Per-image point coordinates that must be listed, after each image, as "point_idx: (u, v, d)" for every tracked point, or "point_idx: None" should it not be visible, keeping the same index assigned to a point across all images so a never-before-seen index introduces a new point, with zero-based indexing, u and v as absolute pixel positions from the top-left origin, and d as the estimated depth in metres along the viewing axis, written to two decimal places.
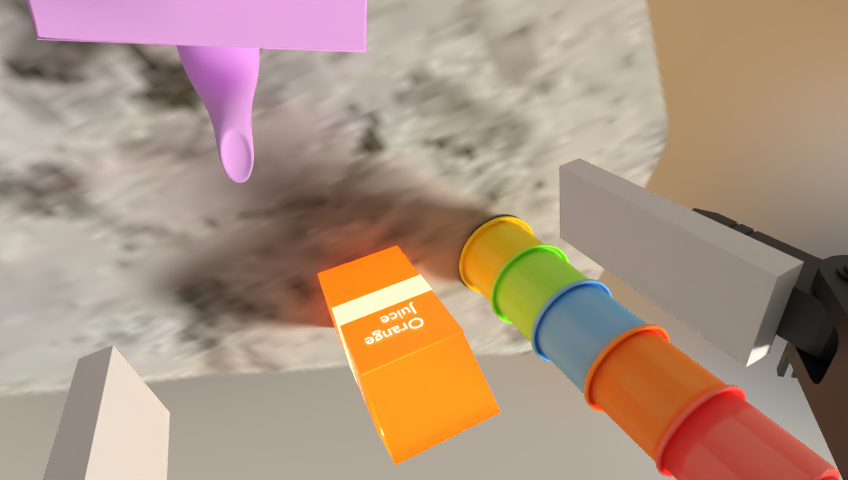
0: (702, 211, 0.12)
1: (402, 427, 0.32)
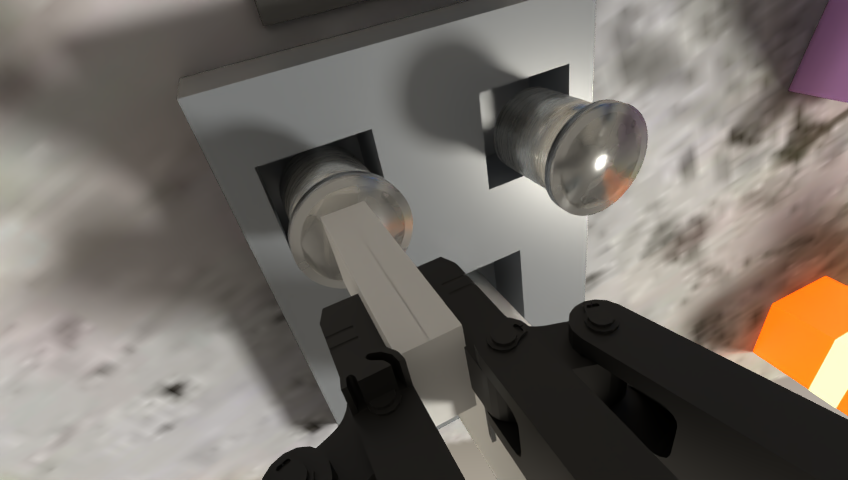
0: (444, 260, 0.12)
1: None
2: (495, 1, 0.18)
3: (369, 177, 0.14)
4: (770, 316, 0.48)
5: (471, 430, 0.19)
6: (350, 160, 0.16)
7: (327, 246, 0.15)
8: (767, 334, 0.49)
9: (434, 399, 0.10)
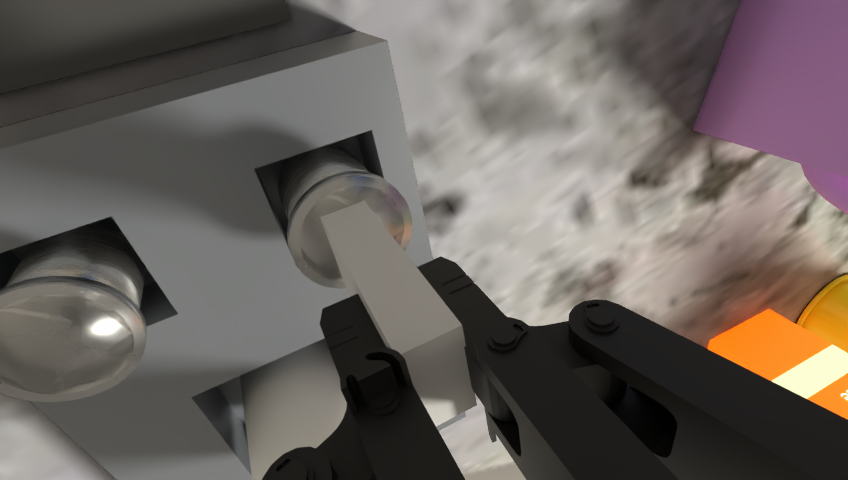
0: (444, 260, 0.12)
1: None
2: (275, 62, 0.16)
3: (57, 285, 0.12)
4: None
5: None
6: (84, 249, 0.14)
7: (22, 361, 0.13)
8: None
9: (434, 399, 0.10)
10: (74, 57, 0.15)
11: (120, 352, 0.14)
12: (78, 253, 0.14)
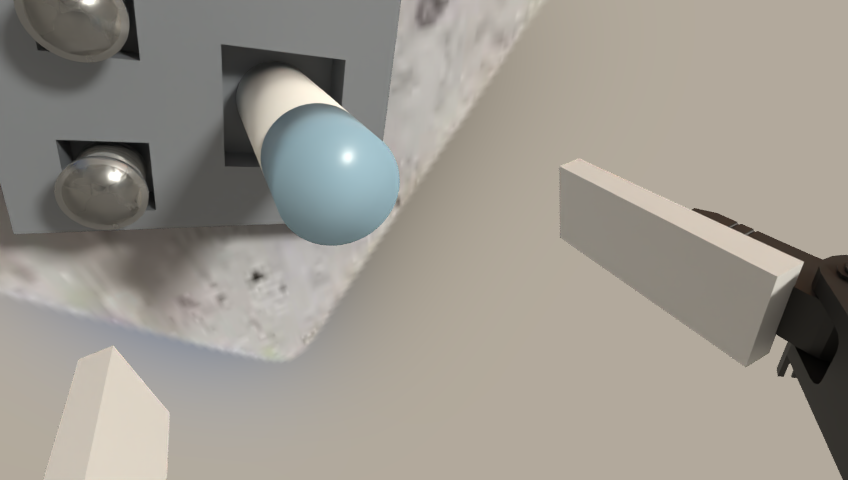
0: (702, 211, 0.12)
1: None
2: None
3: (57, 178, 0.23)
4: None
5: None
6: None
7: (105, 211, 0.25)
8: None
9: None
10: None
11: (121, 176, 0.24)
12: None
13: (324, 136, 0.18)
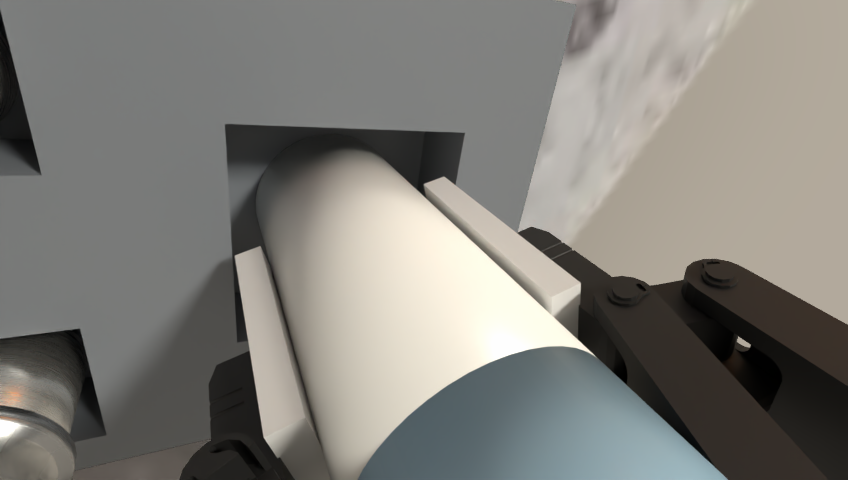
0: (536, 230, 0.12)
1: None
2: None
3: None
4: None
5: None
6: None
7: None
8: None
9: (322, 474, 0.09)
10: None
11: (2, 443, 0.11)
12: None
13: None
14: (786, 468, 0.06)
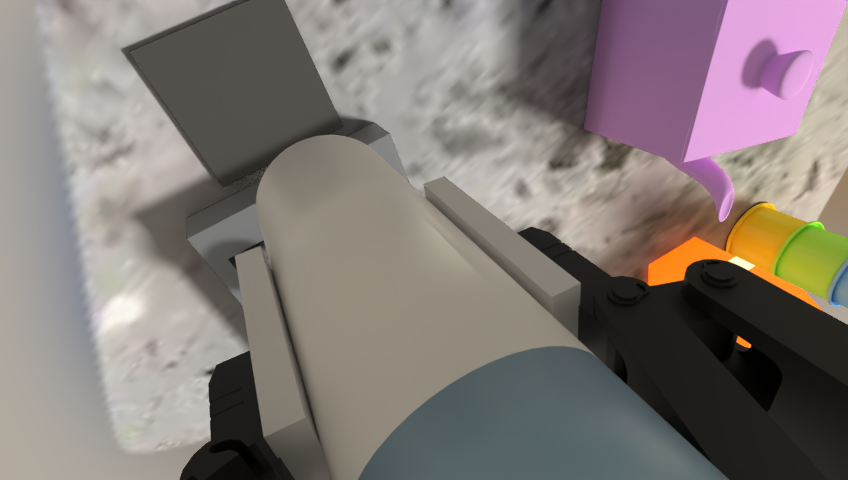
0: (536, 230, 0.12)
1: None
2: None
3: None
4: (650, 274, 0.63)
5: None
6: None
7: None
8: None
9: (323, 474, 0.09)
10: (256, 163, 0.33)
11: None
12: None
13: None
14: (786, 468, 0.06)
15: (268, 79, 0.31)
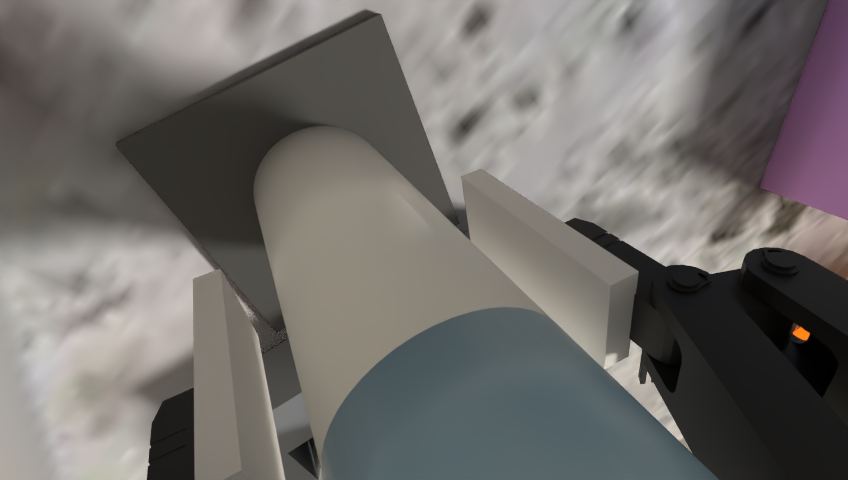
0: (580, 221, 0.12)
1: None
2: None
3: None
4: None
5: None
6: None
7: None
8: None
9: None
10: None
11: None
12: None
13: None
14: (845, 459, 0.06)
15: None
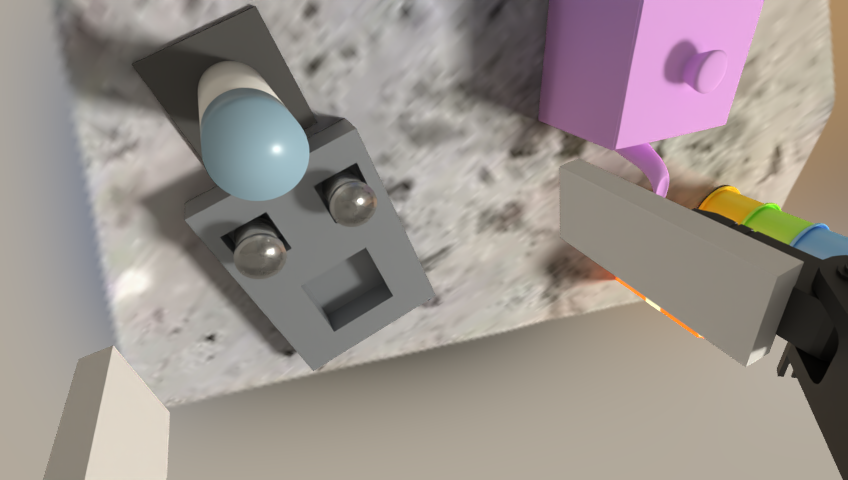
0: (702, 211, 0.12)
1: None
2: (314, 142, 0.40)
3: (259, 236, 0.37)
4: None
5: None
6: (258, 225, 0.39)
7: (250, 263, 0.38)
8: None
9: None
10: None
11: (279, 259, 0.39)
12: (257, 226, 0.39)
13: (240, 109, 0.23)
14: None
15: None
